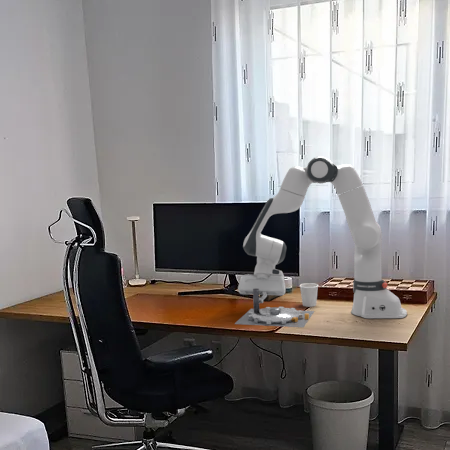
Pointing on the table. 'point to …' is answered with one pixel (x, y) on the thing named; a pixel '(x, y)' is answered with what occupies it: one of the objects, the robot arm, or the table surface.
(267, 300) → the brown wooden log
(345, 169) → the robot arm
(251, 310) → the base plate
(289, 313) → the sprocket
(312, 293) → the dixie cup
